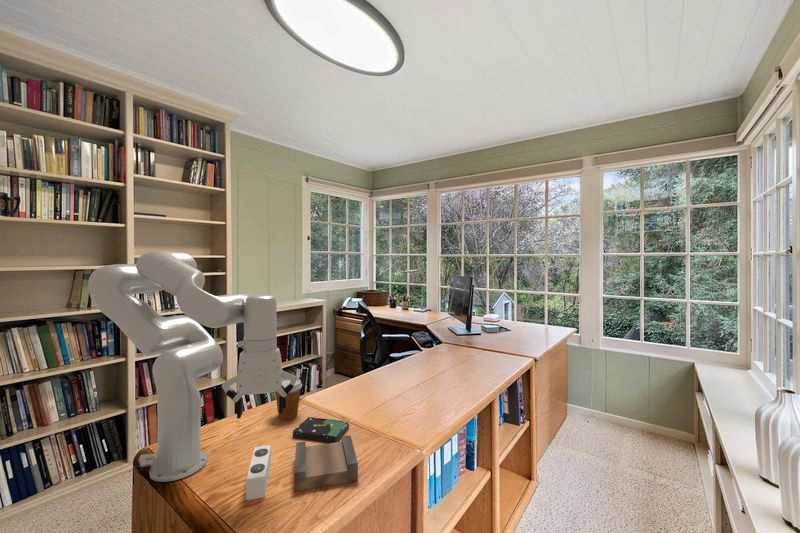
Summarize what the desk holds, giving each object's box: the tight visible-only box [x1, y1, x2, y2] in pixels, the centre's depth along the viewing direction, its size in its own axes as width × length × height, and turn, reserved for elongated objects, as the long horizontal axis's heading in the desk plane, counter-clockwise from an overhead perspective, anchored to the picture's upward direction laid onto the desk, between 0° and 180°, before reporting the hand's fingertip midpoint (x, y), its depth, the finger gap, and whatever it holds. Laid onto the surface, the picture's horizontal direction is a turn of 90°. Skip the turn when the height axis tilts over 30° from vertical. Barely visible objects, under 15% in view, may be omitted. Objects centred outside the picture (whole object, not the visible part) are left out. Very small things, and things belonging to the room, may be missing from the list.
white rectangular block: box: [245, 444, 272, 501], centre depth 83 cm, size 4×14×5 cm, turn 16°
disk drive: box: [292, 416, 350, 444], centre depth 106 cm, size 10×3×15 cm
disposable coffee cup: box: [275, 378, 303, 421], centre depth 118 cm, size 10×10×12 cm
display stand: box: [293, 434, 359, 493], centre depth 87 cm, size 15×14×4 cm
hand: (260, 413), depth 83 cm, fingers open, 9 cm apart
